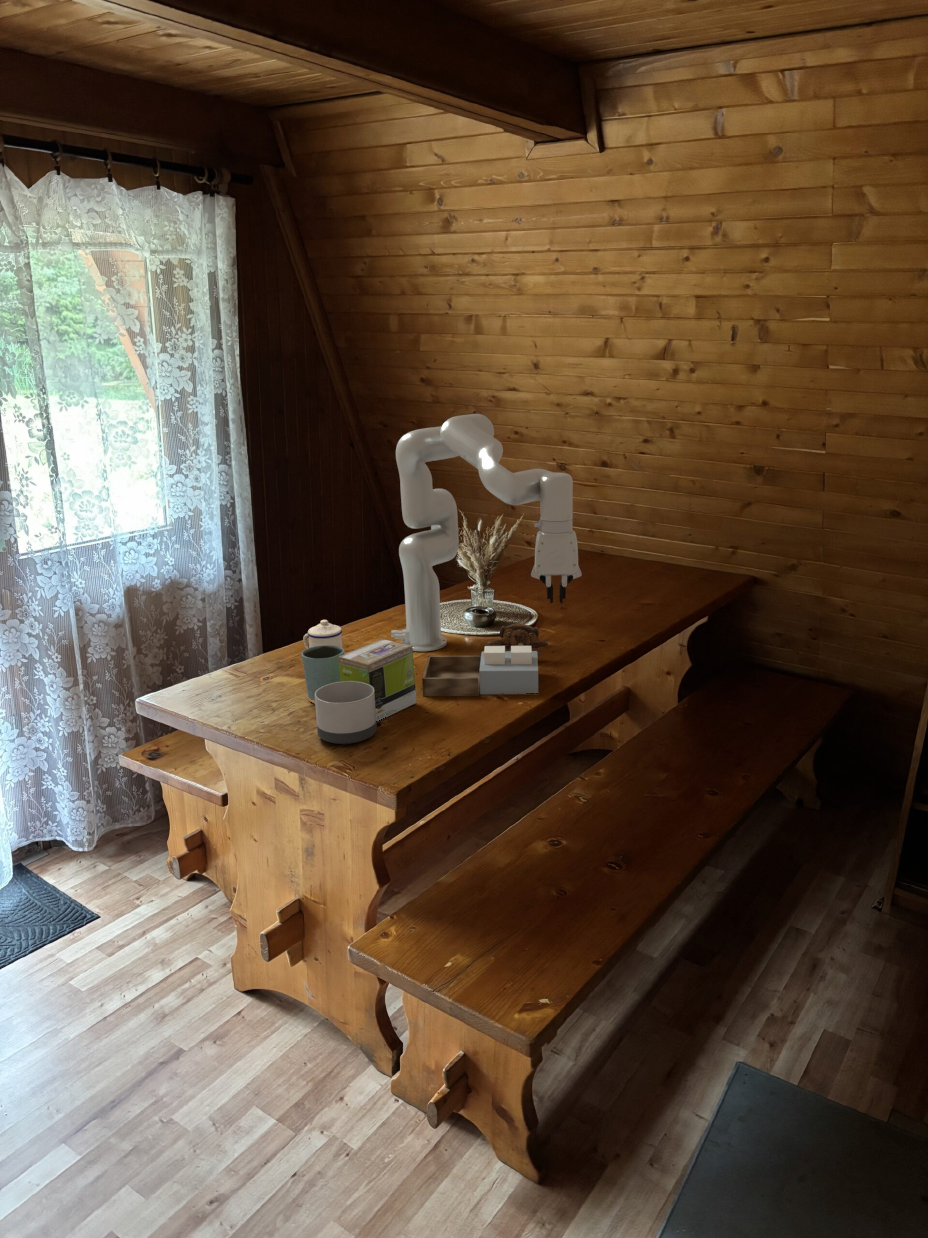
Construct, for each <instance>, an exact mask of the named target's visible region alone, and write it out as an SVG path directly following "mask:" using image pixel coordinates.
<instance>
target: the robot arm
mask: <svg viewBox="0 0 928 1238" xmlns="http://www.w3.org/2000/svg"><path fill="white" fill-rule="evenodd" d="M494 435H495V428H494V425H493V423H492V421H491V420H490V419H489V418H488V417H487V416H486V415H484V414H481V413H471V414H463V415H456V416H452V417H450V418H448V419H447V420H445V421H444V423H442V425H440V426H435V427H434V426H433V427H425V428H419V429H415V430H412V431H408V432H407V433H405V434H403V435H402V436H401V437H400V439H399V440H398V442H397V444H396V449H395V460H396V465H397V469H398V470H397V471H398V474H399V481H400V484H399V485H400V499H401V501H400V502H401V512H402V514H401V515H402V520H403V522H404V524H405V525H406V526H407V528H410V529H417V530H418V529H424V528H428V527H430V529H429V530H424V531H420V532H416V533H412V534H410V535H408V536H406V537H404V539H402V541H401V542H400V544H399V545H398V546H399V547H398V556H399V560H400V564H401V568H402V574H403V575H402V576H403V585H404V588H403V590H404V603H405V622H406V623H405V624H406V627H405V628H402V630H399V629H394V630H393V629H391V631H390V636H391V638H394V640H401V639H402V640H401V644H406V645H410V646H412V647H413V652H431V651H437V650H440V649H442V648H445V646H447V644H448V641H447V640H448V639H447V638H446V637H445V636H443V635H442V630H441V629H442V627H441V601H440V598H441V597H440V583H439V578H438V576H437V574H436V573H435V571H434V568H433V566H436V565H440V564H443V563H446V562H449V561H451V560H453V559H454V558H455V557H456V556H457V554H458V551H459V543H460V541H459V521H458V519H459V518H458V507H457V503H456V500H455V498H454V496H453V494H452V493H451V492H450V491H449V490H447V489H444V488H434V487H433V477H432V473H431V471H430V468H429V466H428V465H427V464H426V463H427V462H432V461H440V460H446V459H447V460H448V459H451V458H456V457H461V458H462V459H463V460H464V461H466V462H467V463H469V464H470V465H471V466H473V467H474V468H475V469H477V470H478V476H479V478H480V481H481V482H482V485H483V486H484V488H485V490H487V492H489V493H490V494H492V495H493V496H494V497H495V498H497V499H498V500H500V501H501V502H503V503H505V504H507V505H510V506H520V505H524V504H528V503H529V504H530V503H534V502H538V501H539V502H540V503H539V504H540V506H539V508H540V509H539V511H540V512H539V513H540V514H539V516H540V517H539V519H538V520H537V521H533V524H534V525H533V527H534V528H537V529H539V530H538V531H537V533H536V537H535V538H536V539H535V547H534V548H535V549H534V565H533V567H532V570H531V572H530V576H531V578H534V579H537V580H540V581H541V582H542V583H543V584H544V585H545V586H546V599H547V600H549V603H550V604H553V603H554V585H553V582H552V576H561V581H560V582H559V585H558V586H559V587H558V588H559V590H558V591H559V593H558V594H559V596H558V599H559V600H558V601H559V603H560V604H563V603H564V600H565V599H566V592H567V591H566V590H567V589H566V587H567V586H568V585H569V584H570V583H571V582H572V581H573V580H575V579H578V578H580V577H582V571H581V569H580V566H579V549H578V548H579V547H578V538H577V534H576V532H575V530H573V511H574V510H573V509H574V508H573V507H574V506H573V504H574V503H573V501H574V500H573V495H574V493H573V492H574V491H573V489H574V485H573V484H574V482H573V477H572V476H571V474H569V473H566V472H553V471H550V470H547V469H543V468H531V469H528V470H522V471H515V472H512V471H510V470H508V469H507V468H506V467H504V466H503V465H502V464H500V462H501V459H502V457H503V454H504V453H503V452H504V448H503V445H502V443H501V441H500V440H498V439H497V438H495V437H494ZM433 488H434V489H433ZM451 540H452V541H451Z"/></svg>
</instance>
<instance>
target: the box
mask: <svg viewBox="0 0 928 1238" xmlns="http://www.w3.org/2000/svg"><path fill="white" fill-rule="evenodd" d="M480 662H481V655H428V656H427V660H426V664H425V667H424V671H423V675H422V678H421V681H422V682H421V683H422V696H423V697H479V695H480V673H479V670H480Z"/></svg>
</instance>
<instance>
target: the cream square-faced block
mask: <svg viewBox="0 0 928 1238" xmlns="http://www.w3.org/2000/svg"><path fill="white" fill-rule="evenodd" d="M483 651H484V664H505V646H486V645H485V646H484V650H483Z"/></svg>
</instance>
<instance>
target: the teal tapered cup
mask: <svg viewBox="0 0 928 1238" xmlns="http://www.w3.org/2000/svg"><path fill="white" fill-rule="evenodd" d="M344 654H345V649H344V648H343V647H342V648H341V647H339V646H333V645H322V646H315V647H311V648H308V649H307V648H305V649H304V650H302V652H301V661H302V665H303V670H304V678H305V685H306V691H307V698H308V697H309V698H310V699H311V700H314V701H315V692H316V691H317V690H318V689H319V688H321V687H323V686H325V685H328V684H331V683H336V682H341V680H340V669H339V656H342V655H344Z"/></svg>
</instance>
